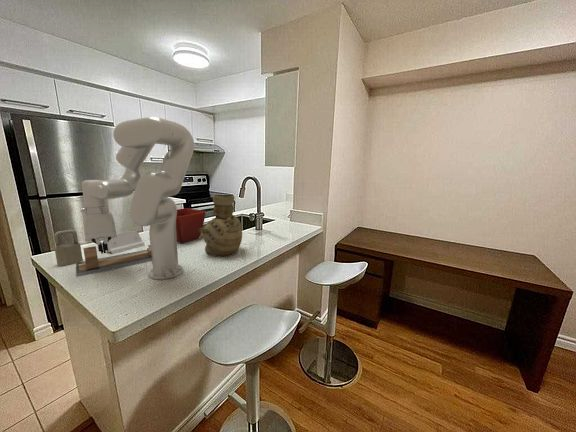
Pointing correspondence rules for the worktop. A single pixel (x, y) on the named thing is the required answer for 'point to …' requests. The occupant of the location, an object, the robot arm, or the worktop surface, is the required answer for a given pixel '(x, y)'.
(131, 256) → the rail
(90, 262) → the slider leg
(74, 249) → the padlock
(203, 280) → the worktop surface
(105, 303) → the worktop surface
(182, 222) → the plant pot
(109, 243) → the hinge
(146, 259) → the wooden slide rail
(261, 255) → the worktop surface
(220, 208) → the ceramic vessel
